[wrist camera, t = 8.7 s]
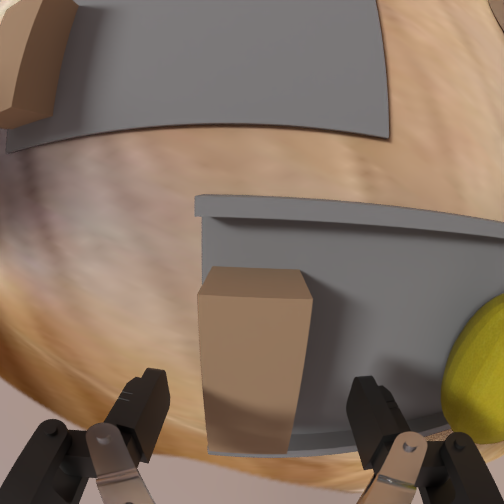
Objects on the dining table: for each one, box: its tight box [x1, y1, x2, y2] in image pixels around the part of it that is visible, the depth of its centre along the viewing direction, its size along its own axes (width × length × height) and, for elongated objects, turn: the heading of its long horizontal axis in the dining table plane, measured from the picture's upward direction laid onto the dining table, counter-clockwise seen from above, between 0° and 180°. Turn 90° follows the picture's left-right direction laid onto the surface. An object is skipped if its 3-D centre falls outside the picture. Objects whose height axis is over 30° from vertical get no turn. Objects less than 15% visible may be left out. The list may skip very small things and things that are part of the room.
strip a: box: [0, 0, 389, 154], centre depth 9 cm, size 22×11×4 cm, turn 88°
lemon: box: [441, 293, 504, 444], centre depth 10 cm, size 11×8×8 cm
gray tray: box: [195, 194, 504, 458], centre depth 12 cm, size 24×16×4 cm, turn 88°
